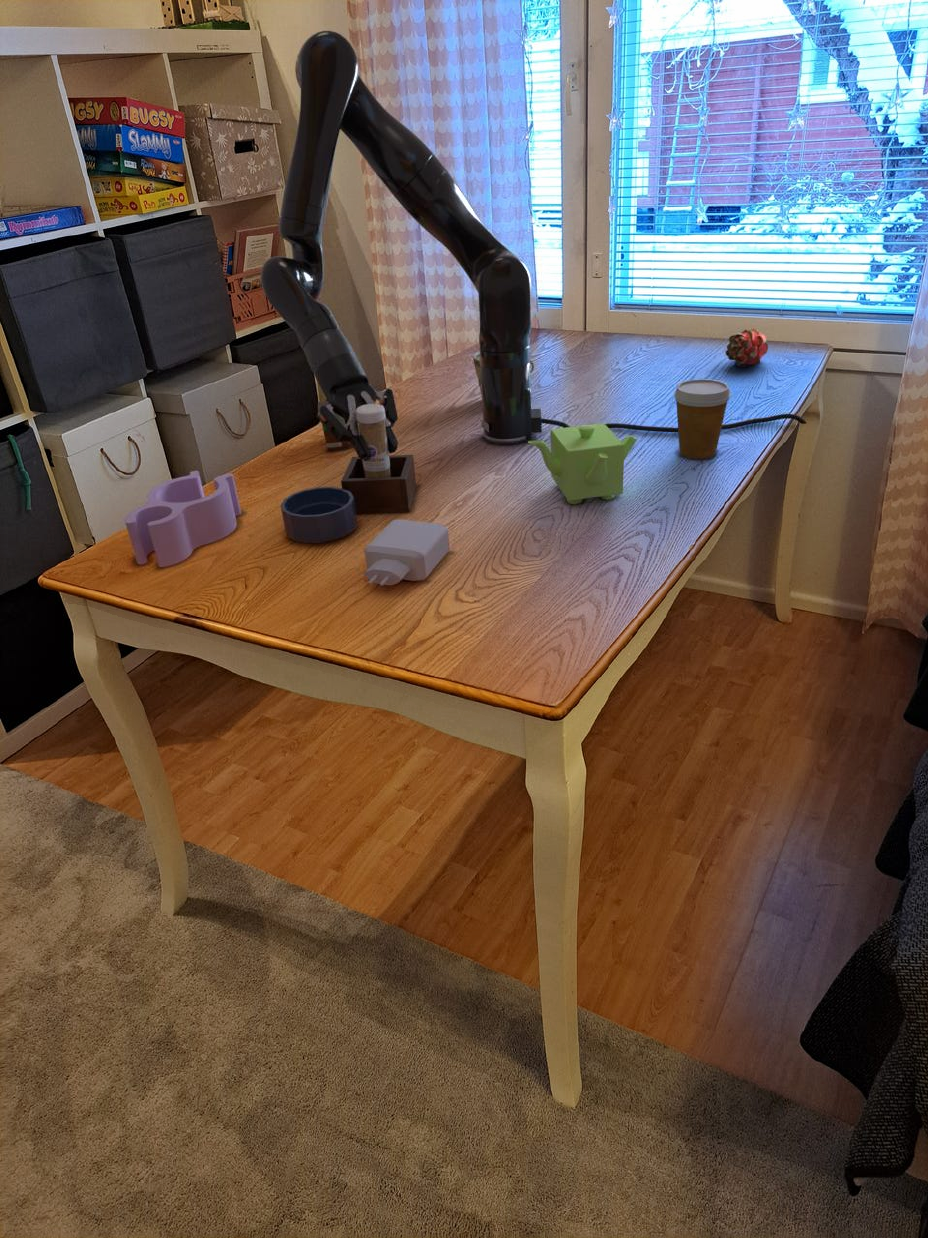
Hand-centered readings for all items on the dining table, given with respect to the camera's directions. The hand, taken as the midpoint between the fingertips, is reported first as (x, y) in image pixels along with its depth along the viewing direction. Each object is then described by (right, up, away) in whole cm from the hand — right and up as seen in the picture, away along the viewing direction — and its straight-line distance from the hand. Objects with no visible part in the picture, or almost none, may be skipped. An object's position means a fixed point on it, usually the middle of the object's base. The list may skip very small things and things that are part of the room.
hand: (381, 454), depth 142 cm
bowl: (-9, -13, -3) cm, 16 cm away
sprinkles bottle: (-1, -5, +5) cm, 7 cm away
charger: (+4, -20, -17) cm, 27 cm away
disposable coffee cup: (+55, +3, +15) cm, 57 cm away
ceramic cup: (+22, +19, +46) cm, 54 cm away
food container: (-9, +8, +31) cm, 33 cm away
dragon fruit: (+77, +31, +58) cm, 101 cm away
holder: (0, -7, +6) cm, 9 cm away
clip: (-31, -14, -2) cm, 34 cm away
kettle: (+33, -6, +3) cm, 34 cm away
